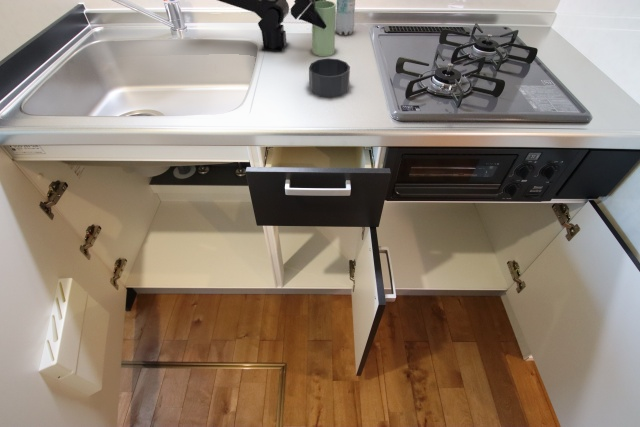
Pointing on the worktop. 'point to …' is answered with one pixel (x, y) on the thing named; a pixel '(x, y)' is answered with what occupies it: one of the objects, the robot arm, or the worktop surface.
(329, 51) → the cup
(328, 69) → the bucket
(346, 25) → the bottle
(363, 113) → the worktop surface
